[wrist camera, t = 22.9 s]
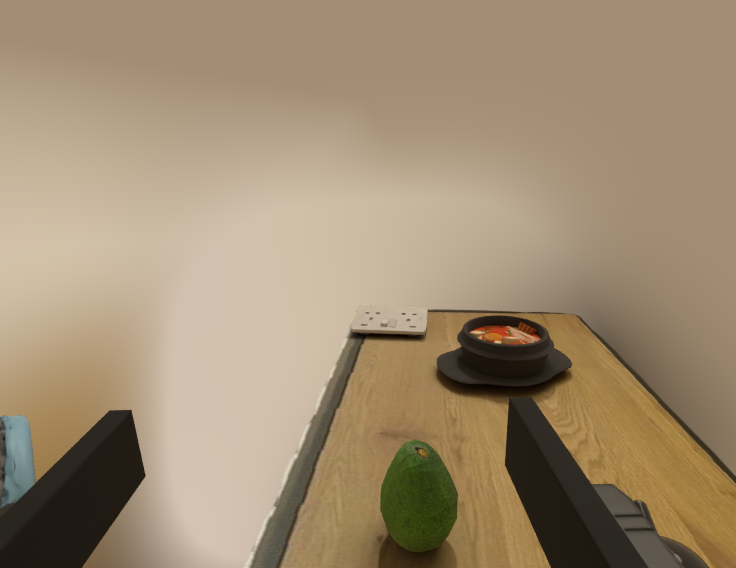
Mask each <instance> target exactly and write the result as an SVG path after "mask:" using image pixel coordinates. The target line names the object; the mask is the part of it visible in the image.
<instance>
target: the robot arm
mask: <svg viewBox="0 0 736 568" xmlns="http://www.w3.org/2000/svg"><path fill="white" fill-rule="evenodd" d="M505 466H506V468H507V471H508V473H509V475H510V477H511V480H512V482H513V484H514V486H515V488H516V491H517V493H518V495H519V497H520V500H521V502H522V504H523V506H524V508H525V511H526V513H527V515H528V517H529V520H530V522H531V524H532V526H533V529H534V531H535V533H536V535H537V537H538V540H539V542H540V544H541V546H542V549H543V551H544V553H545V555H546V557H547V560H548V562H549V564H550V566H551V568H684V567H683V565H682V564H681V563H680V561H679V560H678V559H677V557H676V556H675V555H674V554H673V552H672V551H671V550H670V548H669V547H668V546H667V545H666V543H665V542H664V541H663V539H662V538H661V537H660V536H659V534H658V533H657V532H656V531H654V528H653V526H652V525H651V524H650V523H649V521H648V520H647V519H646V517H643V514H642V512H641V511H640V510H639V508H638V507H637V506H636V505H635V503H634V502H633V501H632V499H631V498H630V497H629V496H627V495H626V494H625V493H623V492H622V491H621V490H619V489H618V488H617V487H615V486H614V485H613V484H591V483H590V482H589V480H588V479H587V477H586V476H585V474H584V473H583V471H582V470H581V468H580V467H579V466H578V464H577V463H576V461H575V460H574V458H573V457H572V455H571V454H570V452H569V451H568V450H567V448H566V447H565V445H564V444H563V442H562V441H561V439H560V438H559V436H558V435H557V434H556V432H555V431H554V429H553V428H552V426H551V425H550V423H549V422H548V420H547V419H546V418H545V416H544V415H543V413H542V412H541V410H540V409H539V407H538V406H537V404H536V403H535V402H534V400H533V399H532V397H519V398H509V410H508V425H507V441H506V457H505ZM144 478H145V471H144V467H143V462H142V457H141V452H140V448H139V443H138V439H137V434H136V429H135V424H134V420H133V415H132V411H131V410H118V411H117V410H115V411H109V412H108V413H107V414H106V415H105V416H104V417H102V418H101V420H99V421H98V422H97V423H96V424H95V425H94V427H92V428H91V429H90V430H89V431H88V432H87V433H86V434H85V435H84V436H83V437H82V438H81V439H80V440H79V441H78V442H77V443H76V444H75V445H74V446H73V447H72V448H71V449H70V450H69V451H68V452H67V453H66V454H65V455H64V456H63V457H62V458H61V459H60V460H59V461H58V462H57V463H56V464H55V465H54V466H53V467H51V468H50V469H49V471H47V473H45V474H44V476H42V477H41V478H40V479H39V480H38V481H37V482H36V476H35V467H34V459H33V448H32V439H31V432H30V425H29V421H28V420H27V418H26V417H23V416H20V415H17V416H10V417H9V416H2V417H0V568H82V567H83V565H84V564H85V562H86V561H87V559H88V558H89V557H90V555H91V553H92V552H93V551H94V549H95V548H96V546H97V545H98V543H99V542H100V541H101V539H102V538H103V536H104V535H105V533H106V532H107V531H108V529H109V528H110V526H111V525H112V523H113V522H114V521H115V519H116V518H117V516H118V515H119V513H120V512H121V510H122V509H123V508H124V506H125V505H126V503H127V502H128V501H129V499H130V498H131V496H132V495H133V493H134V492H135V491H136V489H137V488H138V486H139V485H140V483H141V482H142V480H143V479H144Z"/></svg>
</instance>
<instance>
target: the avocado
mask: <svg viewBox="0 0 736 568" xmlns="http://www.w3.org/2000/svg"><path fill="white" fill-rule="evenodd" d="M457 498H458V493H457V491H456V488H455V486H454V483H453V481H452V478H451V476H450V474H449V472H448V470H447V468H446V467H445V465H444V463H443V461H442V459H441V458H440V456H439V455H438V453H437V452H436V451H435V450H434V449H433V448H432V447H431V446H429V445H428V444H427V443H425V442H421V441H418V440H413V441H410V442H407V443H405V444H404V445H403V446H402V447H401V448H400V449H399V450H398V452H397V454H396V455H395V457H394V459H393V461H392V463H391V465H390V467H389V469H388V471H387V473H386V476H385V478H384V481H383V484H382V488H381V507H380V510H381V513H382V516H383V519H384V521H385V524H386V527H387V530H388V533H389V534H390V536H391V537H392V538H393V540H394V541H395V542H396V543H398V544H399V545H400V546H401V547H403V548H405V549H406V550H408V551H412V552H420V553H422V552H425V551H429V550H432V549H435V548H436V547H438V546H439V545H441V544H442V543H443V542H444V540H445V539H446V538H447V537H448V535H449V533H450V531H451V529H452V527H453V525H454V523H455V521H456V519H457Z"/></svg>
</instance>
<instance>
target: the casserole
mask: <svg viewBox="0 0 736 568" xmlns="http://www.w3.org/2000/svg"><path fill="white" fill-rule="evenodd" d="M457 339H458V342H459V343H460V345H461V347H460V348H458V349H456V350H454V351H450V352H447V353H444V354H442V355H440V356H439V357H438V359H437V366H438V367H439V369H440V370H441V371H442V372H443V373H444V374H445V375H446V376H448V377H450V378H451V379H453V380H456V381H458V382H461V383H466V384H492V385H501V386H530V385H535V384H539V383H542V382H545V381H547V380H549V379H550V378H552V377H553V376H554V375H556V374H557V373H559V372H561V371H564V370H566V369H568V368H570V367H571V365H572V363H571V360H570V359H569V358H568V357H567V356H566V355H564V354H563V353H562V352H560V351H559V350H557V349H555V348H554V343H553V341H552V340H551V339H550V337H549V334H548V331H547V330H546V328H544V327H543V326H542V325H540V324H538V323H536V322H533V321H530V320H527V319H523V318H518V317H512V316H483V317H478V318H474V319H472V320H469V321H468V322H466V323H465V324H464V326H463V329H462V331H460V333H459V334H458V337H457Z"/></svg>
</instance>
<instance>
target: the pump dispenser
mask: <svg viewBox="0 0 736 568" xmlns="http://www.w3.org/2000/svg"><path fill="white" fill-rule="evenodd" d="M633 502H634V503H635V505H636V506H637V507H638V508H639V510H640V511H641V512H642V514H643V517H646V519H647V520H648V521H649V523H650V524H651V525H652V526H653V528H654V531H656V532H657V530H656V528H655V525H654V523H653V520H652V518H651V515H650V513H649V510H648V508H647V505H646V504H645V503H644V502H643V501H640V500H635V501H633ZM660 537H661V538H662V539H663V541H664V542H665V543H666V545H667V546H668V547H669V548H670V550H671V551H672V552H673V554H674V555H675V556H676V557H677V559H678V560H679V561H680V563H681V564H682V565H683V567H684V568H709V567H708V565H707V564H706V563H705V562H704V561H703V560H702V559H701V558H700V557H699V556H698V555H697V554H696V553H695V552H694V551H692V550H691V549H690V548H688V547H687V546H685V545H683V544H682V543H680V542H677V541H675V540H673V539H670V538H667V537H663V536H660Z"/></svg>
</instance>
